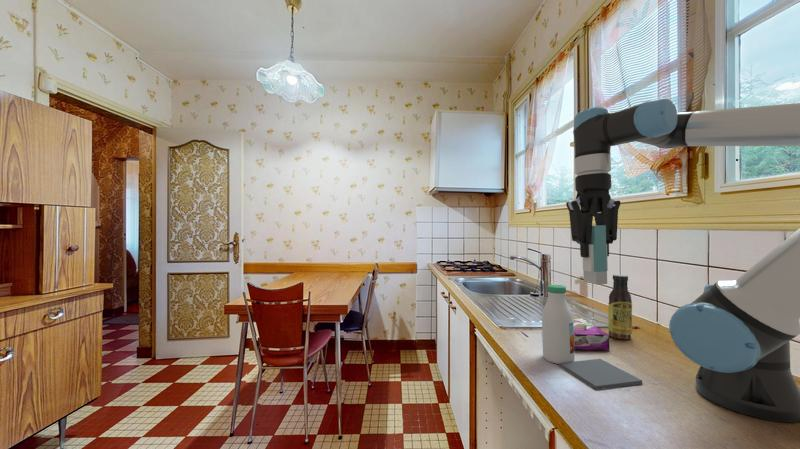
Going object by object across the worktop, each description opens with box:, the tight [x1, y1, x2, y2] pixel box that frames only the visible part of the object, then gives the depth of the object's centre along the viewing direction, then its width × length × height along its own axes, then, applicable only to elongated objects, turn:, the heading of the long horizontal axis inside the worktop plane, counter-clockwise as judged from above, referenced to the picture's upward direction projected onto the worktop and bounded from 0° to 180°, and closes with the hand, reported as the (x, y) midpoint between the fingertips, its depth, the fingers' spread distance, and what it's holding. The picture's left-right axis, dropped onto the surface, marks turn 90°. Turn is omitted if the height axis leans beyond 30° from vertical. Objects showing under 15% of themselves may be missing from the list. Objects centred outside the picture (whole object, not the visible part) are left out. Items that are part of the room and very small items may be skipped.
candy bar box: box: [573, 317, 611, 352], centre depth 98 cm, size 11×5×16 cm
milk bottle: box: [541, 284, 576, 365], centre depth 86 cm, size 8×8×20 cm
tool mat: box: [559, 358, 643, 390], centre depth 76 cm, size 12×12×1 cm
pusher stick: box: [582, 224, 608, 285], centre depth 77 cm, size 4×3×14 cm
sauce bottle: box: [607, 273, 633, 340], centre depth 101 cm, size 7×6×20 cm
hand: (595, 270), depth 77 cm, fingers closed on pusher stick, 3 cm apart
